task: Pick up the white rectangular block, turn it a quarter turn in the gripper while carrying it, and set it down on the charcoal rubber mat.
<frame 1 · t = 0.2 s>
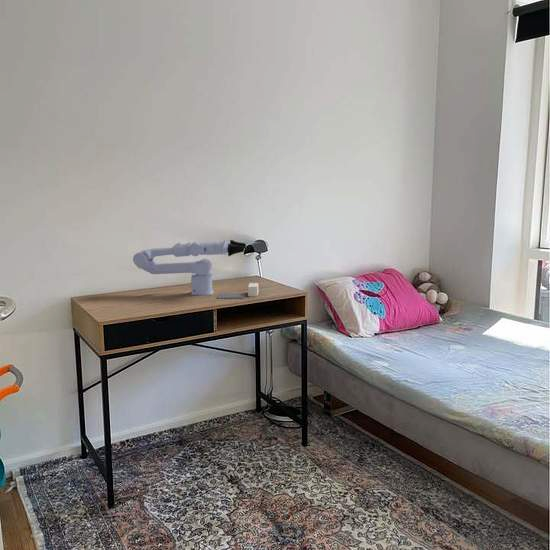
hand: (244, 247, 249), 21 cm above the table, tool horizontal, fingers open, 7 cm apart
mat: (231, 296, 246), on the table
white rectangular block: (253, 294, 249), on the table
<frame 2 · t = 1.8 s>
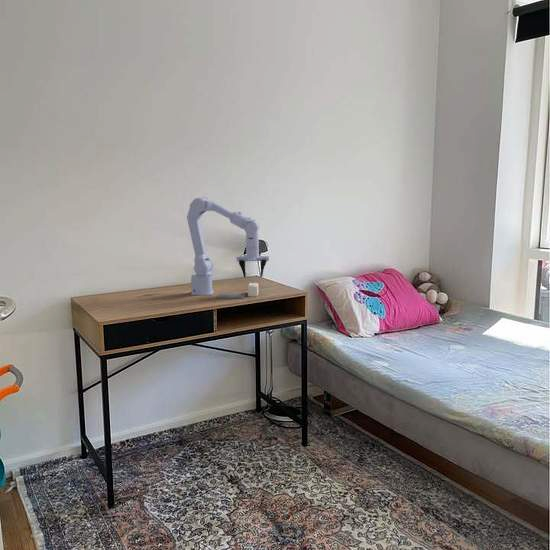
hand: (253, 276, 248), 8 cm above the table, tool pointing down, fingers open, 7 cm apart
nothing on the table moved.
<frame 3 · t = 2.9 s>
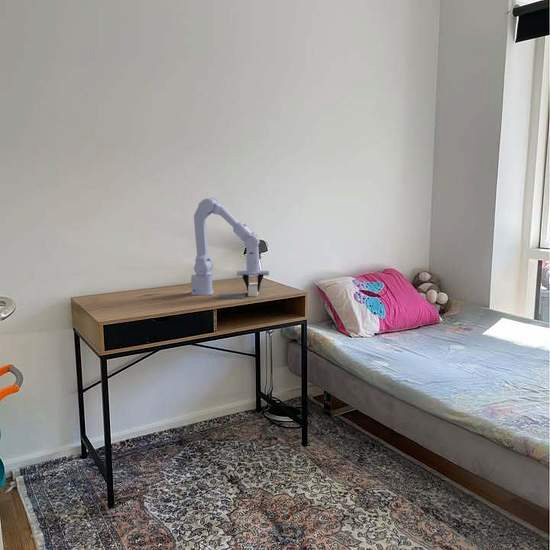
hand: (253, 291, 249), 1 cm above the table, tool pointing down, fingers closed on white rectangular block, 4 cm apart
white rectangular block: (253, 294, 249), on the table, touching gripper
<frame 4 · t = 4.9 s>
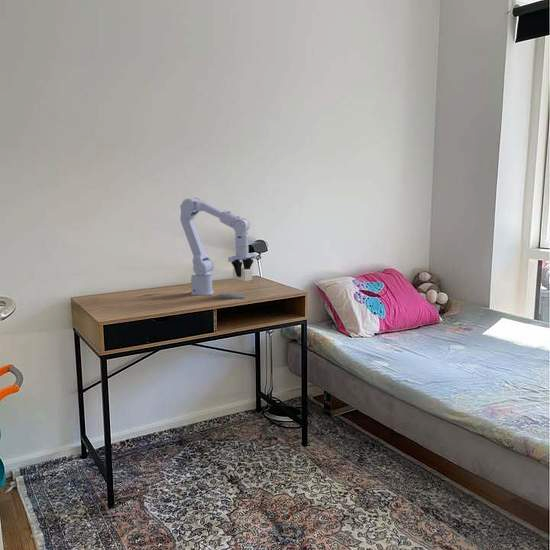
hand: (242, 275, 246), 9 cm above the table, tool pointing down, fingers closed on white rectangular block, 4 cm apart
white rectangular block: (242, 279, 246), point 7 cm above the table, touching gripper
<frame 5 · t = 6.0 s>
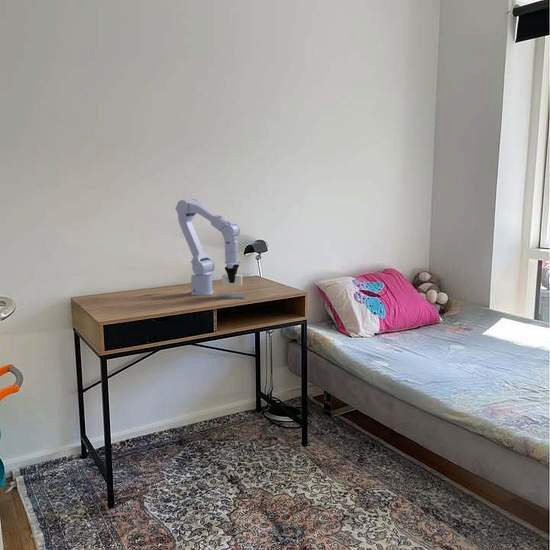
hand: (232, 281, 245), 7 cm above the table, tool pointing down, fingers closed on white rectangular block, 4 cm apart
white rectangular block: (232, 285, 245), point 5 cm above the table, touching gripper
when the fingers open (3 cm above the table, at t = 7.0 s): white rectangular block drops 1 cm, resting on mat.
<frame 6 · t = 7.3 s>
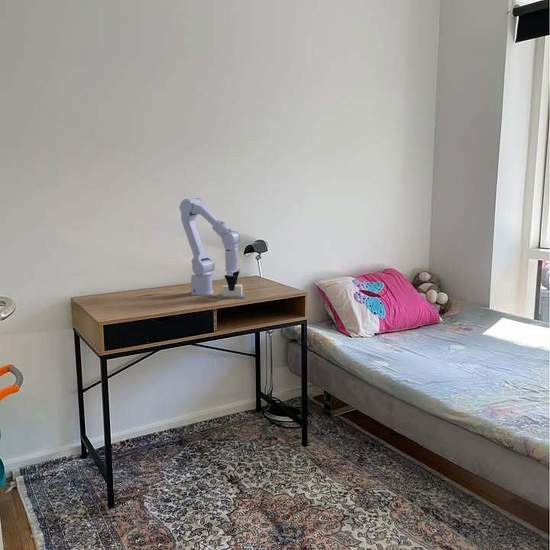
hand: (232, 289, 245), 3 cm above the table, tool pointing down, fingers open, 7 cm apart
white rectangular block: (232, 295, 246), resting on mat
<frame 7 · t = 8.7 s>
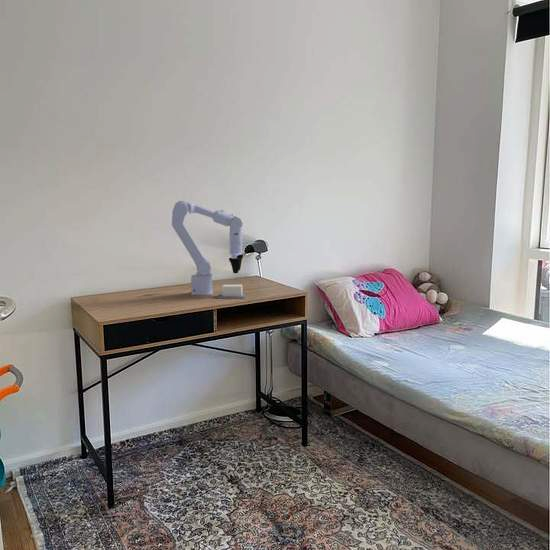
hand: (236, 271, 254), 9 cm above the table, tool pointing down, fingers open, 7 cm apart
nothing on the table moved.
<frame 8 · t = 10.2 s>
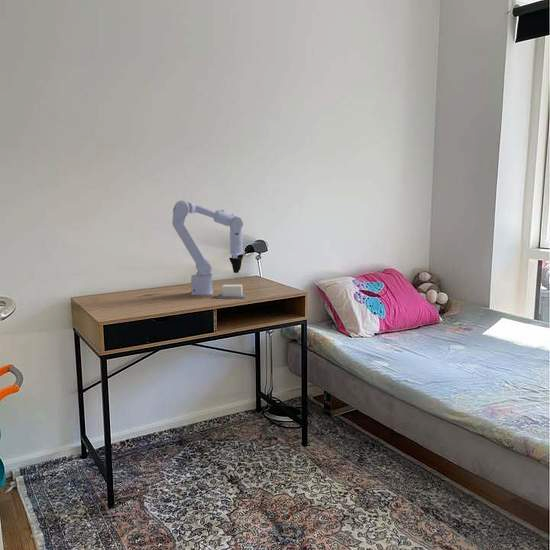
hand: (237, 271, 255), 9 cm above the table, tool pointing down, fingers open, 7 cm apart
nothing on the table moved.
at the end: white rectangular block 0.1 cm off-centre on the mat, point 0.4 cm above the mat's base; white rectangular block tilted 0°; the gripper is holding nothing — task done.
